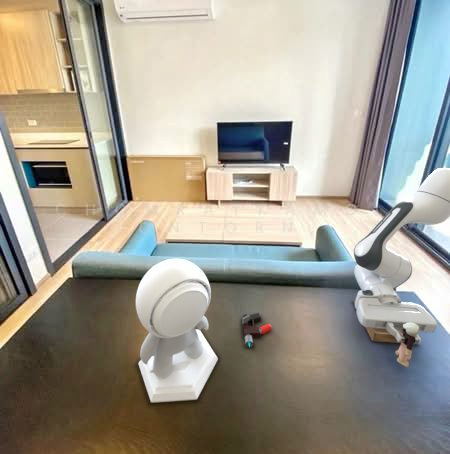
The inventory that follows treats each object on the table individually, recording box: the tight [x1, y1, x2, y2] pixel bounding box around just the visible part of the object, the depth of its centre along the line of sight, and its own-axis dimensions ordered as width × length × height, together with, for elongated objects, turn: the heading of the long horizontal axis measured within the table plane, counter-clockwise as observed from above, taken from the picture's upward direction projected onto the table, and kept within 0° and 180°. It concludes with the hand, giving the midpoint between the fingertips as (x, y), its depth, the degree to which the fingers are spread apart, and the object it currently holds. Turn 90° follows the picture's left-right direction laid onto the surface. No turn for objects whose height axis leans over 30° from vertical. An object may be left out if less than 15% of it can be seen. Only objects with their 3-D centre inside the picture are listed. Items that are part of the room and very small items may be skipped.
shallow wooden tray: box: [353, 296, 418, 345], centre depth 85 cm, size 13×15×4 cm
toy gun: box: [241, 312, 272, 348], centre depth 81 cm, size 10×12×5 cm
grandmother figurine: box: [395, 322, 419, 368], centre depth 68 cm, size 8×4×13 cm, turn 165°
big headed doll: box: [135, 258, 219, 404], centre depth 66 cm, size 20×23×35 cm
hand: (409, 341), depth 67 cm, fingers closed on grandmother figurine, 3 cm apart
